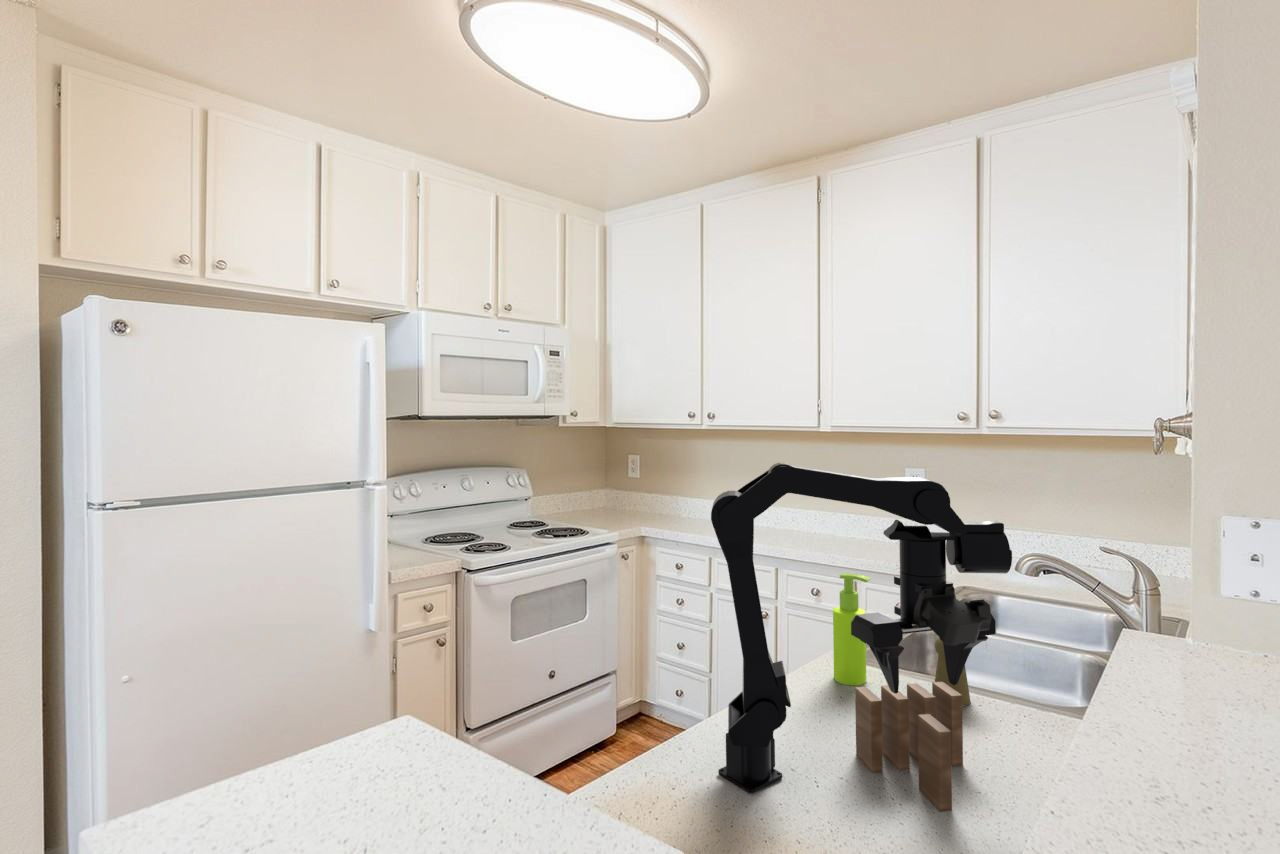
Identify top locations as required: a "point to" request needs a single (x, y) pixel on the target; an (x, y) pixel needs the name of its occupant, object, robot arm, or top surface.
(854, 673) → the soap dispenser
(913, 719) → the tile
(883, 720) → the tile
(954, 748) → the tile
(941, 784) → the tile
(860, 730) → the tile
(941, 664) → the cork
